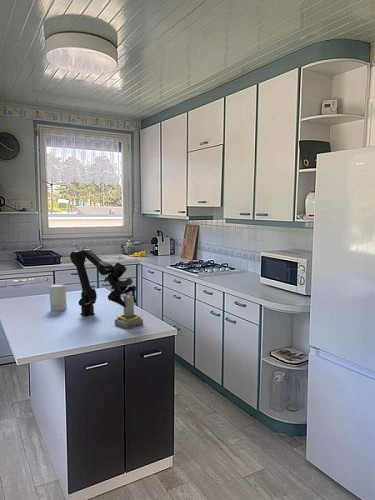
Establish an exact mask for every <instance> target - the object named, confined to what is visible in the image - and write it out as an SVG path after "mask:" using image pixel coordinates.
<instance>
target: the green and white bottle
mask: <svg viewBox="0 0 375 500" xmlns="http://www.w3.org/2000/svg"><path fill="white" fill-rule="evenodd" d="M122 300H123V302H124V303H125V305H126V307H123V315H124V318H127V319H129V318H133V317H134V314H135V303H134V297H133V296H132V292H129V295H124V296H123V298H122Z"/></svg>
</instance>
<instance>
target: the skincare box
mask: <svg viewBox="0 0 375 500" xmlns="http://www.w3.org/2000/svg"><path fill="white" fill-rule="evenodd" d="M48 287H49V288H48V290H49V291H48V292H49V303H50V311H51V312H53V311H54V312H55V311H59V312H61V311H63V312H64V310H67V308H68V307H67V293H66V292H67V291H66V284H52V285H50V286H48Z"/></svg>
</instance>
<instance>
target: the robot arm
mask: <svg viewBox="0 0 375 500" xmlns="http://www.w3.org/2000/svg"><path fill="white" fill-rule="evenodd" d="M69 258H70V260H71V263H72V264H73V265H74V266H75V268H76V271H77V275H78V280H79V282H80V286H81V293H80V295H81V296H80V297H81V298H80V299H79V300H78V306H81V309H80V310H81V311H80V312H81V313H79V315H80V316H81V315H82V316H84V317H89V316H93V315H95V314H96V313H95V306H94V304H96V301H97V298H98V297H97V296H98V295H97V292H96V289H95V288H93V287H91V283H90V279H89V277H88V272H87V268H86V265H85V262H86V259H87V260H88V261H89V262H90V263H91V264H93V265H94V267H96V269H97V272H98V273H99V274H100V275H101V276H105V277H104V281H103V282H104V283H106V282H108V283H109V285H110V286H111V287H110V290H111V292H110V293H109V294H108V295H107V299H108V301H109V302H113V303H115V304H118V305H120V306H121V307H122V308H124V307H126V305H125V303H124V302H123V298H122V296H121V295H125V296H128V295H129V292H132V296H133V297H134V305H135V304H137V298H136V294H135V292H136V291H137V287H136V286H135V285H133V279H132V278H131V277H128V278H126V279H125V280H120V279H121V277H122V276H123V275H124V274H125V272H126V271H127V267H126V266H125V265H124V264H121V263H120V262H116V263H115V265H113V264H111V263H110V262H106V261H103V259H101V258H100V257H99V256H98V255H96V254H95V253H94V252H93V251H92V250H91V249H89V248H85V249H82V250H75V251H71V252H70V255H69Z"/></svg>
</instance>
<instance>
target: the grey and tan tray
mask: <svg viewBox="0 0 375 500" xmlns="http://www.w3.org/2000/svg"><path fill="white" fill-rule="evenodd" d="M143 325H144V319H143V318H142V317H141V315H138V314H135V313H134V317H133V318H129V319H127V318H124V314H121V315H117V317H116V319H114V326H117V327H120V328H123V329H126V330H129V329H132V328H135V327H139V326H143Z"/></svg>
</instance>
